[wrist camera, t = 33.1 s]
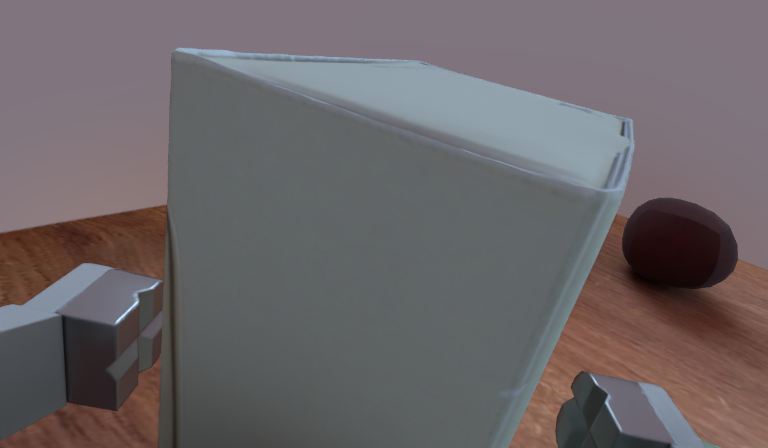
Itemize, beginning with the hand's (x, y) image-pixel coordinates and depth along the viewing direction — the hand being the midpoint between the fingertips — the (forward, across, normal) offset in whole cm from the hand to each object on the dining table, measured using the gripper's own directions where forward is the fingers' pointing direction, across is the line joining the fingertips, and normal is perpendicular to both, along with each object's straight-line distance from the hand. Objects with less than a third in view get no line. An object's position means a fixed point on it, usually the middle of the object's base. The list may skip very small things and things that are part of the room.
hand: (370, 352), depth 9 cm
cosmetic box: (-1, 0, +7) cm, 7 cm away
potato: (+24, -21, +7) cm, 33 cm away
